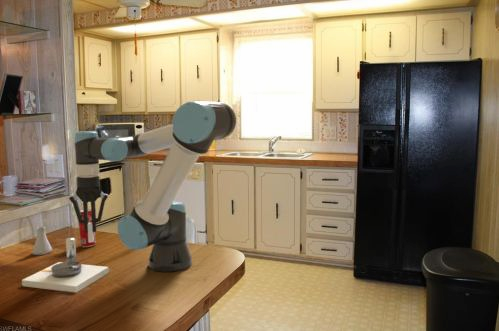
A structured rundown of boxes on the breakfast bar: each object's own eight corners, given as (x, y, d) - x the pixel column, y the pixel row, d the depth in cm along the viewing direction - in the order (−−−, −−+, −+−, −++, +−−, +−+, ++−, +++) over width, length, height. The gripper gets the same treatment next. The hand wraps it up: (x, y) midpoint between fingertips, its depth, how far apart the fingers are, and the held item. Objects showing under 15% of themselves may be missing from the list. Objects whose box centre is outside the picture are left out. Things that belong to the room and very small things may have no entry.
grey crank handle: (79, 275, 139) (78, 251, 138) (49, 278, 137) (47, 253, 136) (85, 258, 155) (84, 236, 154) (58, 260, 153) (57, 238, 152)
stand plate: (108, 272, 148) (108, 266, 148) (76, 292, 132) (76, 285, 132) (59, 267, 153) (58, 261, 153) (22, 286, 137) (21, 279, 137)
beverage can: (93, 247, 175) (91, 211, 174) (77, 247, 176) (74, 211, 174) (98, 243, 181) (96, 208, 179) (82, 243, 181) (80, 208, 180)
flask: (44, 256, 166) (42, 230, 165) (27, 255, 167) (26, 229, 166) (56, 250, 173) (54, 225, 172) (40, 249, 174) (38, 224, 173)
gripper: (108, 173, 156) (110, 237, 159) (69, 174, 153) (72, 239, 156) (106, 176, 149) (109, 243, 152) (66, 178, 146) (69, 245, 149)
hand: (91, 241), depth 154 cm, fingers closed
